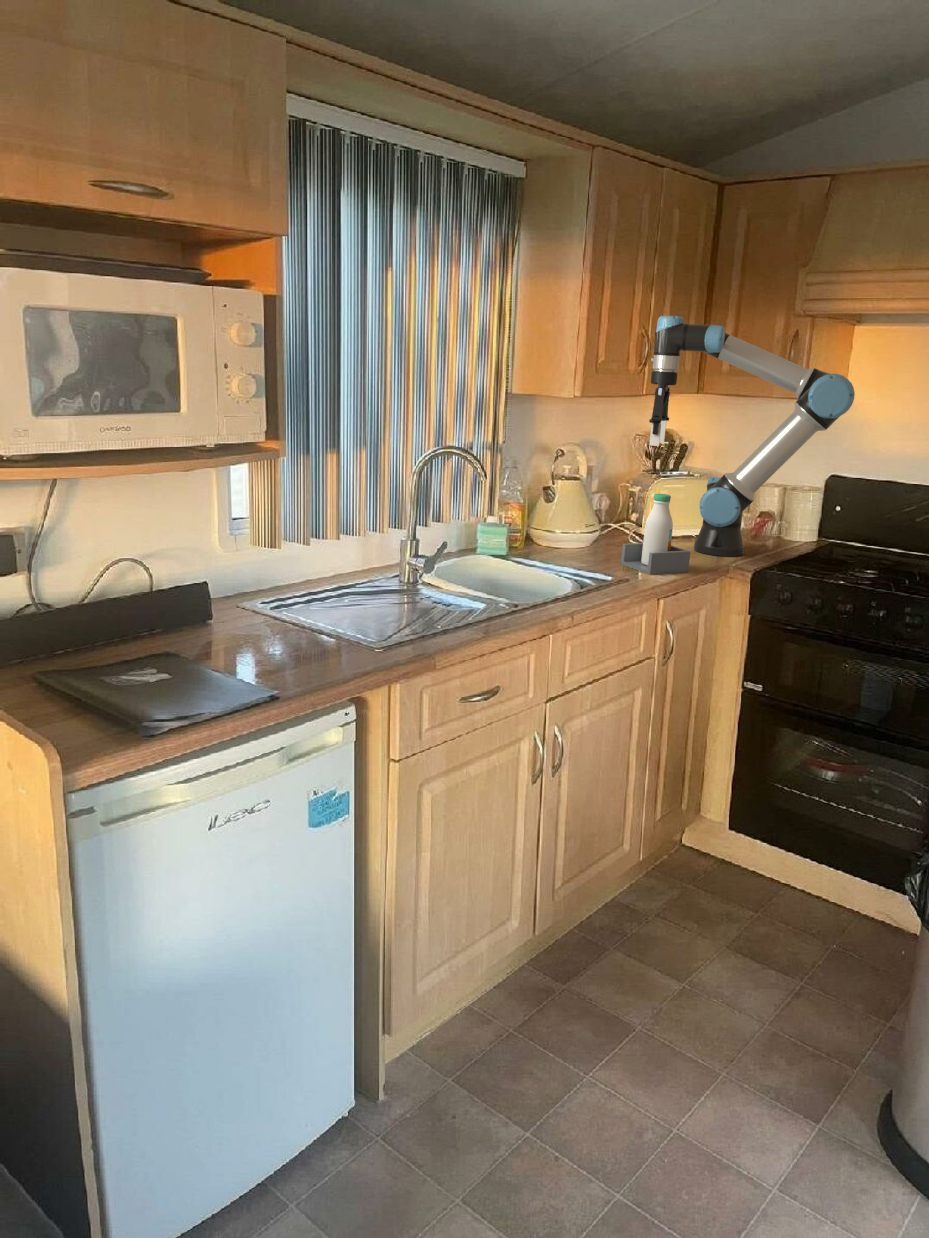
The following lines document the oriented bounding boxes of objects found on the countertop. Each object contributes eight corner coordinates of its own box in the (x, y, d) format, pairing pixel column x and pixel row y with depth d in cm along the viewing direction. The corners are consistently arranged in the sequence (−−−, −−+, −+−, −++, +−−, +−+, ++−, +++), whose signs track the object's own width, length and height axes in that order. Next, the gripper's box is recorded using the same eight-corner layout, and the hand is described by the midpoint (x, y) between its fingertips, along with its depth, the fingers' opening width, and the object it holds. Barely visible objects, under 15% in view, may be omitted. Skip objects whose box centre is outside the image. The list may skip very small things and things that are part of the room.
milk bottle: (661, 569, 269) (669, 497, 263) (636, 564, 273) (643, 493, 268) (673, 565, 275) (681, 495, 269) (648, 560, 279) (656, 491, 274)
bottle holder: (658, 562, 283) (660, 541, 281) (687, 572, 271) (690, 551, 270) (620, 564, 277) (622, 543, 275) (649, 574, 265) (652, 553, 264)
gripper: (657, 370, 296) (649, 440, 301) (646, 370, 273) (638, 446, 278) (681, 371, 294) (673, 442, 299) (673, 372, 271) (664, 448, 276)
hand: (656, 444), depth 289 cm, fingers open, 13 cm apart
